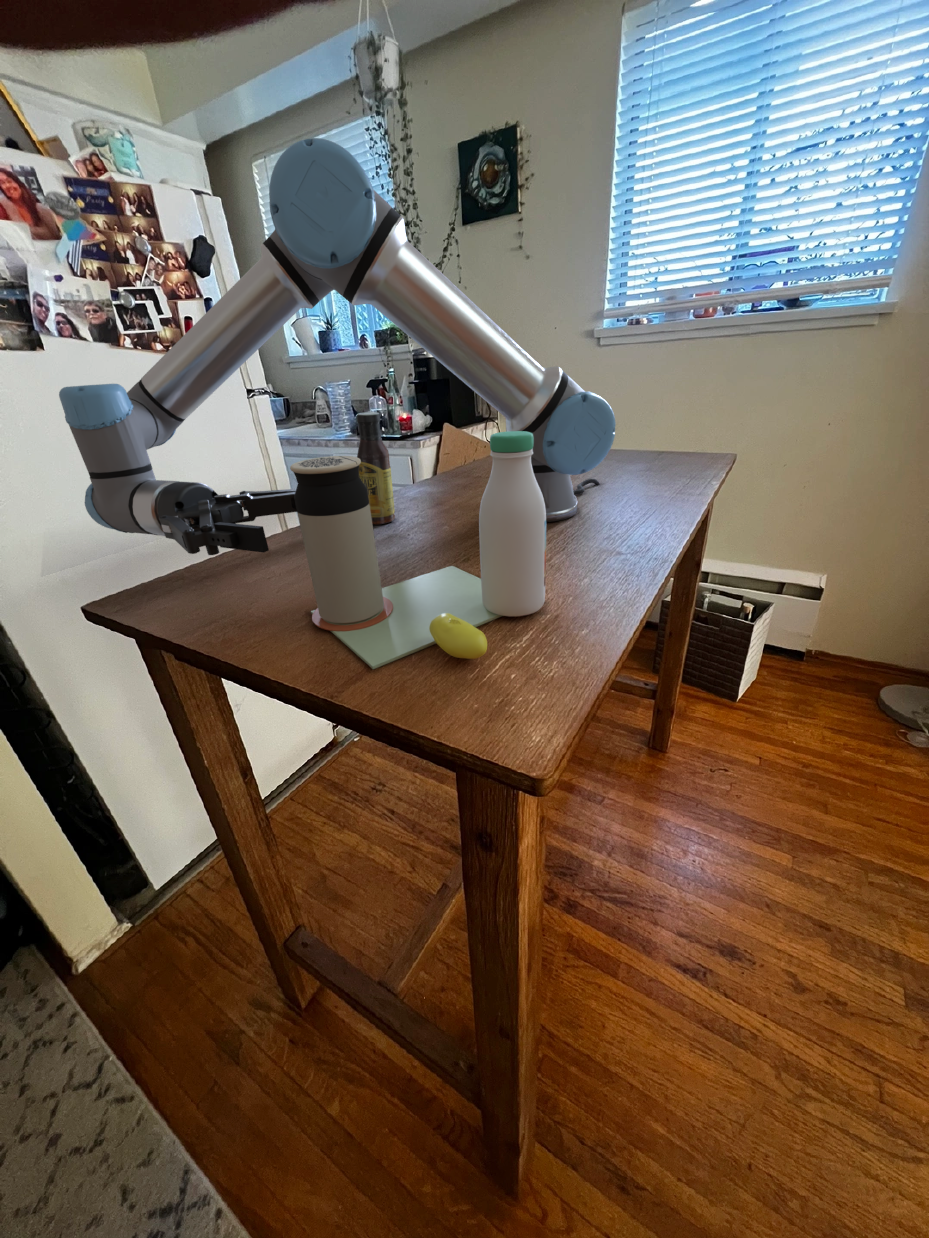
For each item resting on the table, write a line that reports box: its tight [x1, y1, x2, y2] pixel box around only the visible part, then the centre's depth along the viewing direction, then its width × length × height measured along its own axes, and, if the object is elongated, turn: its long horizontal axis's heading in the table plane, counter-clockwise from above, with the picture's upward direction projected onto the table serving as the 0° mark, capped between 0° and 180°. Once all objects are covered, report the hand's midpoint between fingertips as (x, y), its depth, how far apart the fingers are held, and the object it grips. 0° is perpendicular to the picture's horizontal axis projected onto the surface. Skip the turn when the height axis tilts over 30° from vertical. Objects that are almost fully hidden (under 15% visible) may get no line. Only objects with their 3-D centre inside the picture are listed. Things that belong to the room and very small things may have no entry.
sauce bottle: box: [356, 411, 396, 526], centre depth 94 cm, size 6×6×20 cm
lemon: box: [430, 613, 488, 660], centre depth 52 cm, size 4×8×4 cm, turn 37°
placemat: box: [310, 565, 504, 670], centre depth 63 cm, size 23×18×1 cm
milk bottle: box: [478, 431, 547, 617], centre depth 57 cm, size 8×8×20 cm
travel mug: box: [289, 455, 384, 623], centre depth 58 cm, size 8×8×18 cm
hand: (305, 521), depth 59 cm, fingers open, 13 cm apart
